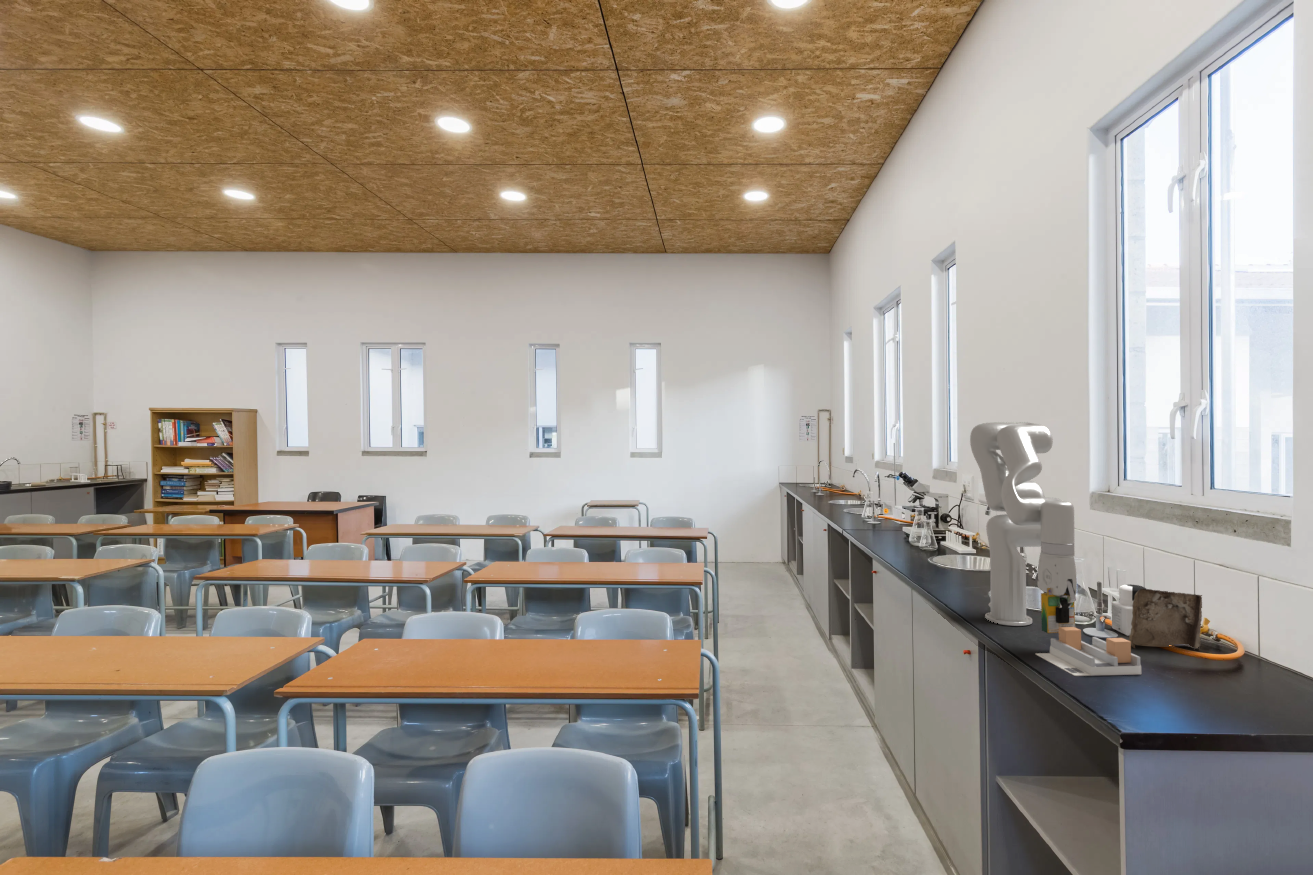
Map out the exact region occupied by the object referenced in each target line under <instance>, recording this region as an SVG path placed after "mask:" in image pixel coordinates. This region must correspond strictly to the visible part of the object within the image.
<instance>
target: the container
mask: <svg viewBox="0 0 1313 875" xmlns="http://www.w3.org/2000/svg"><path fill="white" fill-rule="evenodd" d="M1140 589H1147V588H1146V587H1145V586H1142V585H1139V584H1129V583H1128V584H1123V585H1120V586H1119V587H1118V592H1119V593H1118V595H1119V596H1118V598H1119V599H1118V600H1119V601H1118V600H1117V601H1111V627H1112V629H1113V630H1114V631H1115V630H1116V631H1117V632H1118V633H1121V634H1123V635H1125V636H1127V637H1129V636H1130V634H1131V628H1132V625H1131V622H1132V618H1133V614H1132V612H1133V610H1132V609H1133V607H1132V605H1133V601H1134V598H1135V594H1136V593H1137V591H1138V590H1140Z"/></svg>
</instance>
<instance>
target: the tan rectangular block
mask: <svg viewBox="0 0 1313 875" xmlns="http://www.w3.org/2000/svg"><path fill="white" fill-rule="evenodd" d="M1058 640H1059V641H1061V642H1063V643H1065V644H1067V645H1069V646H1071V647H1073V648H1075V649H1077V650H1081V641H1082V630H1081V629H1080V628H1078V627H1076V626H1075V627H1059V633H1058Z"/></svg>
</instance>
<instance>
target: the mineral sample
mask: <svg viewBox="0 0 1313 875" xmlns="http://www.w3.org/2000/svg"><path fill="white" fill-rule="evenodd" d="M1202 596H1203V594H1196V593H1195V594H1194V593H1193V594H1192V593H1185V592H1175V591H1169V590H1158V589H1157V590H1156V589H1151V588H1149V589H1148V588H1146V589H1140V590H1138V591H1137V593H1136V594H1135V598H1134V601H1133V605H1132V607H1133V609H1132V610H1133V612H1132V614H1133V618H1132V622H1131V625H1132V628H1131V634H1130V636H1128V639H1127V640H1128V641H1131V648H1133V649H1136V646H1143V647H1157V648H1158V647H1159V648H1166V647H1167V648H1169V645H1174V644H1189V645H1190V646H1192V647H1195V648H1198V647H1199V648H1200V647H1201V646H1202V645H1201V640H1202V638H1201V625H1202V619H1203V618H1202V617H1203V615H1202V614H1203V612H1202V609H1203V599H1202V598H1203V597H1202Z"/></svg>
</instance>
